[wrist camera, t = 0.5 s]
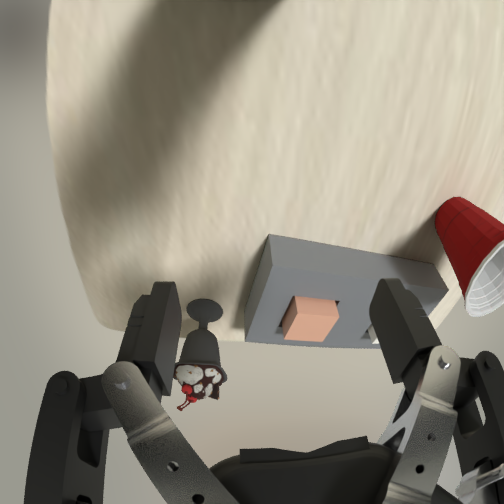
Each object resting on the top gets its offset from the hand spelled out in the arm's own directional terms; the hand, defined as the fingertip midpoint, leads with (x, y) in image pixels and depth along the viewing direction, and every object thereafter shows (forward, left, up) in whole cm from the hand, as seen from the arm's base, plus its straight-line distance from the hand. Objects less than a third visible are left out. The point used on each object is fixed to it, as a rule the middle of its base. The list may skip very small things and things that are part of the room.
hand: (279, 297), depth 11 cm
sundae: (+24, -2, -18) cm, 30 cm away
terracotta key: (+16, +9, -15) cm, 24 cm away
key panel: (+16, +15, -18) cm, 29 cm away
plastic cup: (+2, +25, -18) cm, 31 cm away
